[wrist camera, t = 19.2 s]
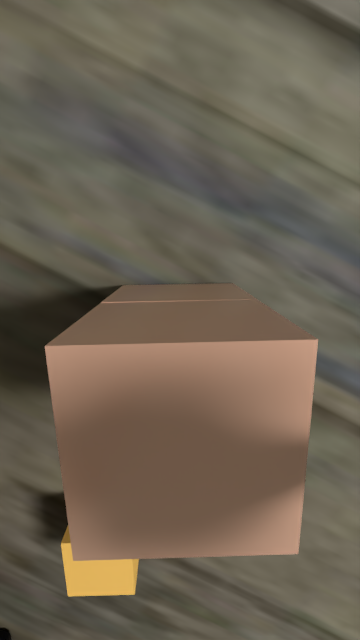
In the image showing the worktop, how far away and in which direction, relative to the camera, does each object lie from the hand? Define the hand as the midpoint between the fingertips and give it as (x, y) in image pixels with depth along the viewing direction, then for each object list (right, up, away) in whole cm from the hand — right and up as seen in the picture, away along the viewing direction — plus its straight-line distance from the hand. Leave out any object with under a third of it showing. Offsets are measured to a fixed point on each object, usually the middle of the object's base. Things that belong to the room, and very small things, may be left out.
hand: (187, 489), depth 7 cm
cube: (-5, -10, +15) cm, 18 cm away
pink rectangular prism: (0, +2, +6) cm, 6 cm away
